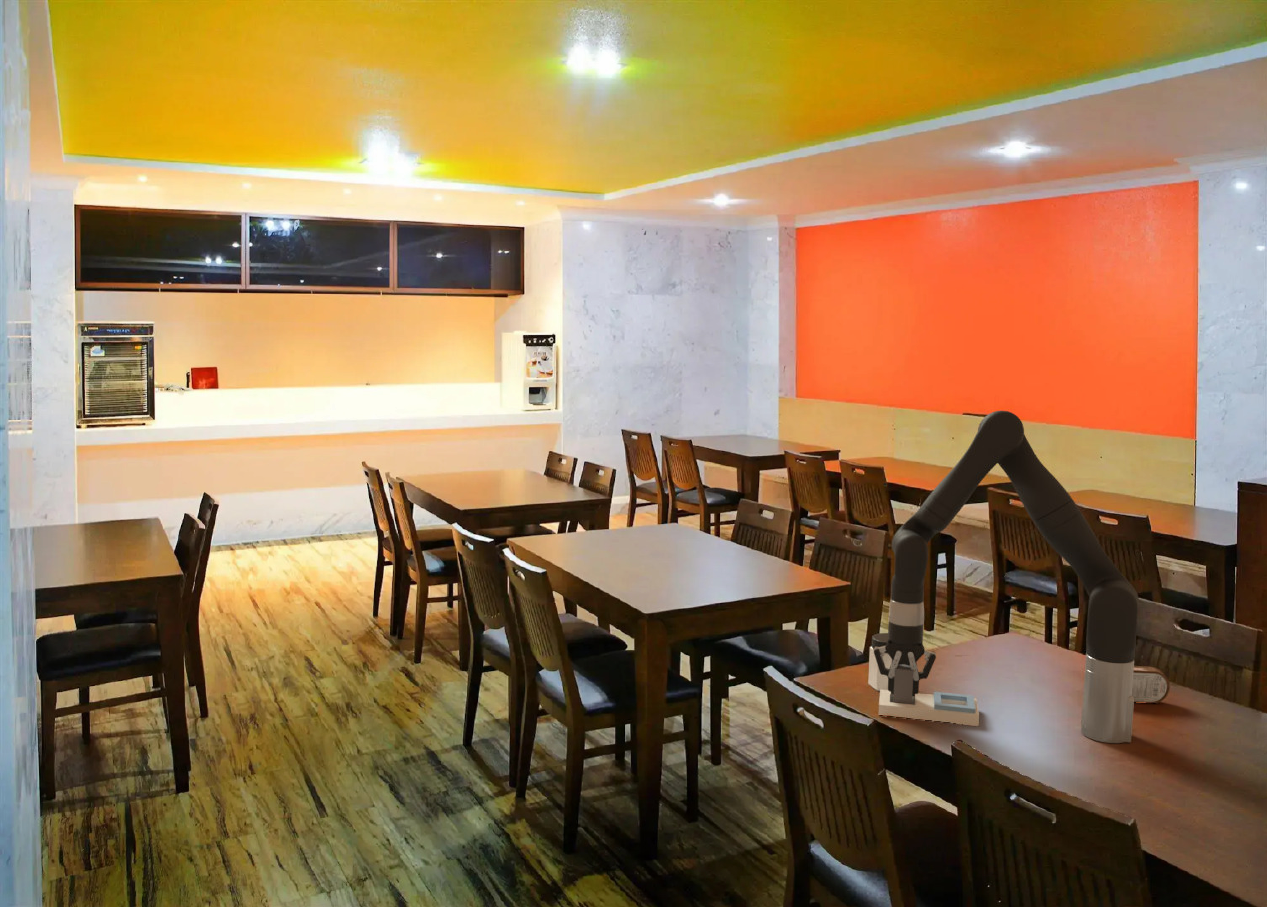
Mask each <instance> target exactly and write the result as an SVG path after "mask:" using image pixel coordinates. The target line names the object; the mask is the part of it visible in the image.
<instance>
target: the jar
mask: <svg viewBox="0 0 1267 907" xmlns="http://www.w3.org/2000/svg"><path fill="white" fill-rule="evenodd" d="M887 641H888V632H881V633H874V634H873V635H872V636H871V646H869V655H868V656H869V658H868V660H869V661H868V685H869V686H870V687H872V688H873V689H874V690H876V691H878V692H880V689H882V690H888V677H887V676H886V675H882V674H880V671H879V668H878V664H877V661H876V658H875V655H874V648H875V647H876V646H878V647H882V646H885V645H886V643H887ZM882 658H883V661H884V664H885V668H887V669H889V668H890V665H891V662H892V659H891V657H890V656H889V654H888V653H887V651H885V652H884V656H883V657H882ZM894 675H895V674H894Z"/></svg>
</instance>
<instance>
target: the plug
mask: <svg viewBox="0 0 1267 907" xmlns="http://www.w3.org/2000/svg"><path fill="white" fill-rule="evenodd" d="M912 690H913V670H911V666H908V665H905V664H902V665H898V666H897V669H895V675H894V697H893V703H902V704H912Z"/></svg>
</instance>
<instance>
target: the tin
mask: <svg viewBox="0 0 1267 907" xmlns="http://www.w3.org/2000/svg"><path fill="white" fill-rule="evenodd" d="M1170 685H1171V684H1170V681H1169V679H1168V677H1167V676H1166V675H1165V673H1163V671H1162V670H1160V669H1159V668H1157V667H1155V666H1142V665H1141V666H1138V665H1134V671H1133V685H1132V696H1133V698H1134V702H1146V703H1156V704H1159V703H1160V702H1161V703H1162V701H1163V700H1165V699H1166V698H1167V696H1168V695H1169V692H1170Z"/></svg>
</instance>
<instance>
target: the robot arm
mask: <svg viewBox="0 0 1267 907" xmlns="http://www.w3.org/2000/svg"><path fill="white" fill-rule="evenodd" d="M967 448H968V449H967V450H966V451H965V453H964V455H963V456H961V458H960V459H959V461H958V462H957V463H956V464H955V465H954V467H953V468H951V470H950V471H949V472H948V474H946V476H945V477H943V479H942V480H941V481H940V482H939V483H938V484H937V486H935V488H934V489H933V490H932V491H931V493H930V494H929V495H928V496H927V498H926V499H925V500H924V502H923V503H922V504H921V506H920V507H919V508H918V510H917V511H916V512H915V513H914V514H913V515H912V516H911V517H909V518H908V519H907V521H905V523H903V524H902V525H901V527H899V528H898V530H896V532H895V534H894V535H893V537H892V539H891V550H892V552H893V554H894V559H895V560H894V561H895V562H894V563H895V564H894V574H893V576H892V580H891V587H890V588H891V590H890V591H891V592H890V602H889V606H888V608H889V609H888V627H887V628H888V629H887V631H888V632H887V633H888V641H887V643H886V645H885V646H882V647H878V646H876V647H875V648H874V655H875V658H876V661H877V664H878V668H879V671H880V674H882V675H886V676H887V677H888V691H891V694H894V674H895V669H897V666H898V665H902V664H905V665H908V666H911V670H913V690H912V696H915V694H918V693H920V692H919V687H920V681H921V680H923V679H924V680H926V679H927V678H928V677H929V674H930V673H931V670H932V667H933V666H934V663H935V661H936V659H937V655H936V654H937V653H936V652H935V651H933V650H932V651H930V650H928V649H925V646H924V643H923V641H924V624H925V623H924V622H925V606H924V596H925V577H926V573H927V572H926V571H927V566H928V559H929V546H928V543H929V542H930V541H931V540H932V539H933V537H934V536H936V534H937V533H941V532H943V531H944V530H945V529H946V528H947V527H948V526H949V524H951V523H952V521H953V520H954V519H955V517H956V516H957V515H958V514H959V512H960V511H961V510H962V508H963V507H964V506H965V504H966V503H967V502H968V500H969V499H970V497H971V496H972V494H973V493H974V491H975V490H976V489H977V487H979V485H980V483H982V481H983V479H984V478H985V477H986V476H987V475H988V474H989V473H990V471H992V469H993V468H994V467H995V466H996V465H997V464H998V465H999V467H1000V468H1001V469H1002V470H1003V472H1004V473H1005V475H1007V477H1008V479H1009V480H1010V483H1011V484H1012V486H1013V488H1014V490H1015V492H1016V493H1017V496H1018V498H1019V500H1020V502H1021V504H1022V505H1023V508H1024V509H1025V511H1026V512H1027V514H1028V515H1029V517H1030V519H1031V521H1032V522H1033V523H1034V525H1035V527H1036V528H1037V529H1038V531H1039V533H1040V534H1041V536H1042V537H1043V538H1044V540H1045V541H1046V542H1047V543H1048V544H1049V545H1050V547H1051V548H1052V549H1054V551H1055V552H1056V553H1057V554H1058V555H1059V556H1060V557H1061V558H1062V559H1064V561H1065V562H1067V564H1069V566H1071V568H1072V569H1073V571H1074V572H1075V574H1076V575H1077V577H1078V578H1079V580H1080V581H1081V583H1082V585H1083V587H1084V589H1085V591H1086V593H1087V595H1088V597H1089V599H1088V607H1087V608H1088V609H1087V623H1086V624H1087V625H1086V639H1085V640H1086V652H1085V665H1084V677H1083V678H1084V680H1083V682H1084V683H1083V691H1082V692H1083V693H1082V694H1083V695H1082V696H1083V697H1082V708H1081V722H1080V732H1081V734H1082V735H1083V736H1085V737H1087V738H1089V739H1091V740H1094V741H1097V742H1100V743H1107V744H1120V743H1131V742H1132V733H1133V722H1134V721H1133V717H1134V706H1135V703H1134V698H1133V696H1132V685H1133V671H1134V666H1135V658H1136V646H1137V645H1136V643H1137V631H1138V630H1137V629H1138V618H1139V617H1138V616H1139V606H1140V605H1139V604H1140V601H1139V595H1138V592H1137V591H1136V589H1135V588H1134V586H1133V585H1132V584H1131V583H1130V581H1129V580H1128V579H1127V578H1126V577H1125V576H1124V575H1123V573H1122V572H1121V571H1120V570H1119V568H1118V567H1117V566H1116V565H1115V564H1114V562H1113V561H1112V560H1111V559H1110V558H1109V556H1108V554H1106V552H1105V550H1104V549H1103V546H1102V545H1101V544H1100V542H1099V540H1098V538H1097V536H1096V534H1095V532H1094V531H1093V529H1092V527H1091V526H1090V524H1089V522H1088V521H1087V519H1086V517H1085V516H1084V514H1083V512H1082V511H1081V509H1080V508H1079V506H1078V505H1077V504H1076V502H1075V501H1074V499H1073V497H1072V496H1071V495H1070V494H1069V492H1068V491H1067V489H1065V487H1064V486H1063V484H1061V483H1060V482H1059V480H1058V479H1057V478H1056V477H1055V475H1053V474H1052V473H1051V472H1050V471H1049V470H1048V469H1047V467H1045V465H1044V464H1043V463H1042V462H1041V461H1040V459H1039V458H1038V456H1037V455H1036V453H1035V451H1034V449H1033V448H1032V446H1031V444H1030V443H1029V441H1028V439H1027V437H1026V435H1025V428H1024V424H1023V422H1022V420H1021V419H1020V418H1019V416H1017V415H1016V414H1015V413H1014V412H1010V411H1009V410H997V411H992V412H991V413H990V412H989V413H988V414H987V415H986V416H985V417H983V419H982V420H981V421H980V423H979V424H978V428H977V432H976V434H975V436H974V437H973V439H972V442H971V443H970V445H969V447H967ZM885 651H887V653H888V654H889V656H890V657H891V659H892V662H891V665H890V668H889V669H887V668H885V664H884V661H883V658H882V657H883V656H884V652H885ZM922 656H924V660H925V661H926V662H925V664H924V666H923V669H922V671H919V668H918V663H917V662H918V661H919V659H921V658H922Z"/></svg>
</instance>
